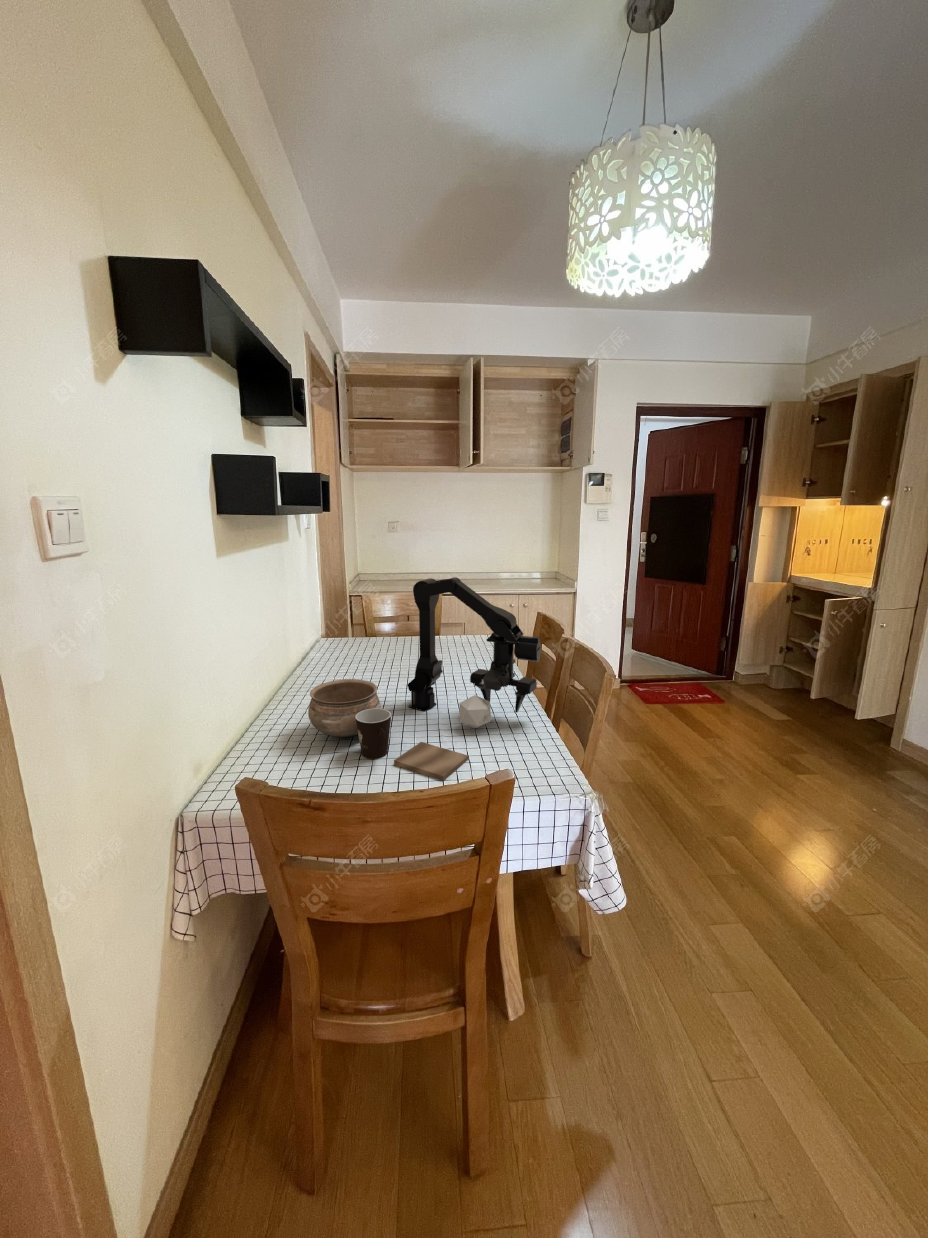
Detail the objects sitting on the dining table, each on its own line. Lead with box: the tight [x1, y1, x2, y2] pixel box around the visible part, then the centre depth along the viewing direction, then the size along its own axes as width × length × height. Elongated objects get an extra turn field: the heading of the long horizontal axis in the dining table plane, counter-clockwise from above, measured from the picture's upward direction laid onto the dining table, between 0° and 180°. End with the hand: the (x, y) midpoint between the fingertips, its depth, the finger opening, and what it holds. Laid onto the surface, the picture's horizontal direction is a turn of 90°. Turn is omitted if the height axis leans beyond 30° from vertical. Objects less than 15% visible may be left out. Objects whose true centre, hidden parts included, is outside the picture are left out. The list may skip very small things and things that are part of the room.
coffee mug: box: [355, 708, 392, 760], centre depth 118 cm, size 12×9×10 cm
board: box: [393, 741, 469, 782], centre depth 116 cm, size 14×11×1 cm
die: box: [458, 694, 492, 730], centre depth 133 cm, size 8×9×10 cm
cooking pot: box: [307, 678, 382, 739], centre depth 130 cm, size 25×19×12 cm
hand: (502, 708), depth 140 cm, fingers open, 9 cm apart
